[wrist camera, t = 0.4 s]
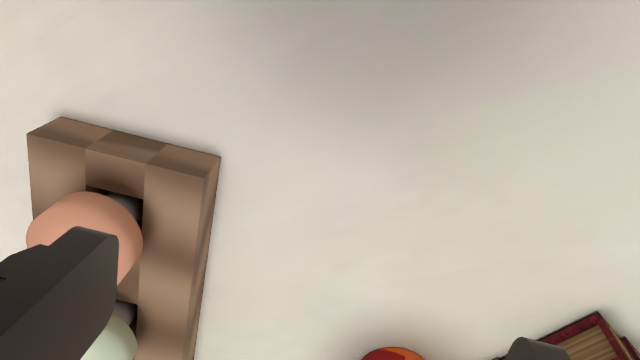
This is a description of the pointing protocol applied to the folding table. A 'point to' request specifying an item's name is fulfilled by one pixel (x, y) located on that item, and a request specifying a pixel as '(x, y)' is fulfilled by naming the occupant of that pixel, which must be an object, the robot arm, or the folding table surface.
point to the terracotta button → (93, 222)
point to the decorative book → (592, 341)
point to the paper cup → (392, 354)
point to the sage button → (116, 336)
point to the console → (156, 224)
